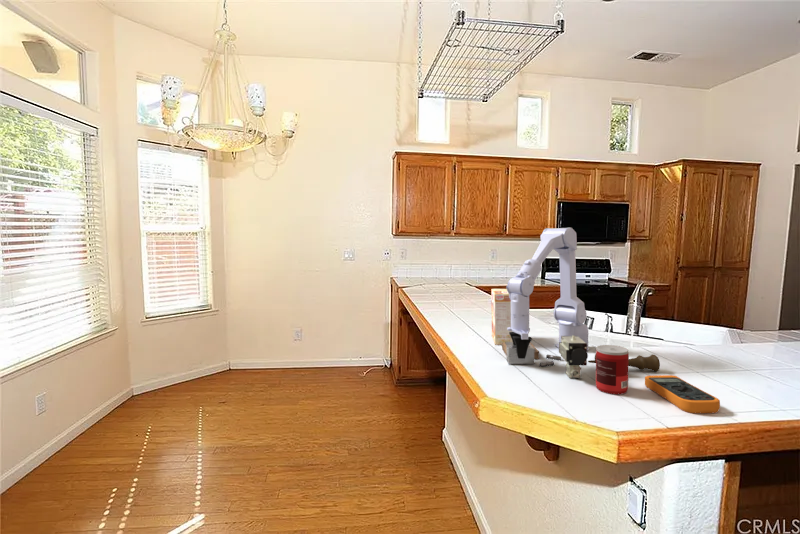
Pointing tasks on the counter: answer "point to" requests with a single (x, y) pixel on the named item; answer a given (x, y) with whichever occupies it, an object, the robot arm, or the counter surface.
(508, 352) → the block
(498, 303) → the coffeecake box
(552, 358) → the bolt
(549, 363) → the bolt
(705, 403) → the multimeter
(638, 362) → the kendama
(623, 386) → the canned food
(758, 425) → the counter surface
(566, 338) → the pneumatic valve
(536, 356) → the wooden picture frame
